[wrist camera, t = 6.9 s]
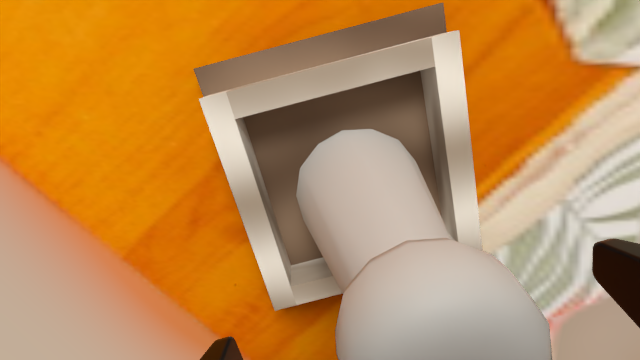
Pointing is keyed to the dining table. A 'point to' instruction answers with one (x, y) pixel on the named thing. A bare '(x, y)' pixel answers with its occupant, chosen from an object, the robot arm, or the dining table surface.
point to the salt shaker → (408, 263)
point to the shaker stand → (332, 117)
